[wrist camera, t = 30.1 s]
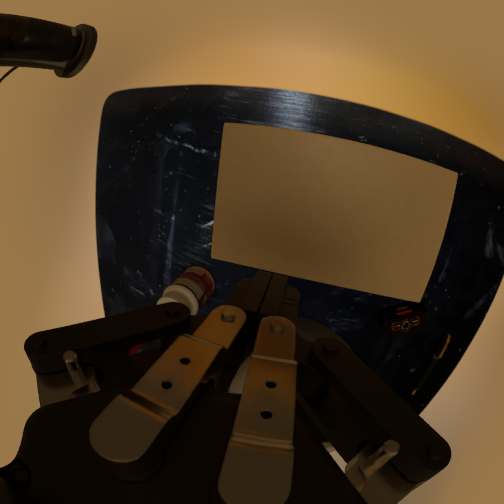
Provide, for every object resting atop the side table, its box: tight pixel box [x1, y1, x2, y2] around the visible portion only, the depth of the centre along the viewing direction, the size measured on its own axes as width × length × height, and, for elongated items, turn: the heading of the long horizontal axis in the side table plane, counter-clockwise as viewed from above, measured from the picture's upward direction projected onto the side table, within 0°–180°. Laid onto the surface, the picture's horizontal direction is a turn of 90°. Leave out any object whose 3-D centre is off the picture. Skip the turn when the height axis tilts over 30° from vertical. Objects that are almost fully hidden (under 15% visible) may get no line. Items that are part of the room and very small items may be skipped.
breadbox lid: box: [211, 123, 458, 303], centre depth 18 cm, size 18×11×1 cm, turn 83°
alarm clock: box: [229, 315, 352, 453], centre depth 28 cm, size 16×10×18 cm, turn 60°
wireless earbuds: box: [379, 286, 429, 339], centre depth 30 cm, size 5×7×3 cm, turn 108°
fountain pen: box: [412, 330, 451, 395], centre depth 32 cm, size 14×1×2 cm, turn 175°
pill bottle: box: [157, 266, 214, 315], centre depth 33 cm, size 5×5×8 cm
